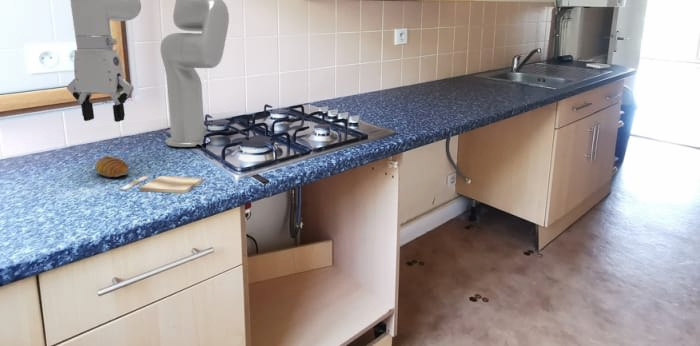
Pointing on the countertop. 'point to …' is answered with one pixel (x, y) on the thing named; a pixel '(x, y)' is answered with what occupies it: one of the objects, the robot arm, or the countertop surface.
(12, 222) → the countertop surface
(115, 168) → the pastry
